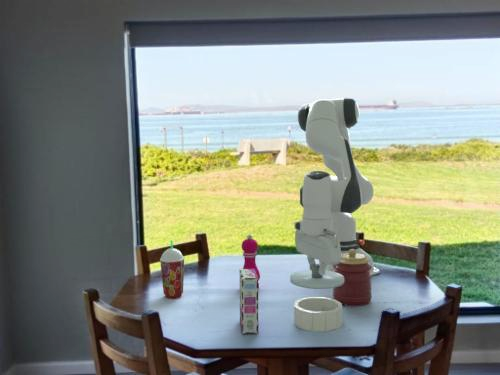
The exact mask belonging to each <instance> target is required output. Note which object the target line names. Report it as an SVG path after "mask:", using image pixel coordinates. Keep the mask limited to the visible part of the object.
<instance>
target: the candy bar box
mask: <svg viewBox="0 0 500 375" xmlns="http://www.w3.org/2000/svg"><path fill="white" fill-rule="evenodd" d="M238 272H239V323H240V329H241V334H242V335H256V334H257V335H259V289H258V283H259V281H258V277H257V274H256V272H255V269H243V268H240V269H239V271H238Z"/></svg>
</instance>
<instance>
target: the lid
mask: <svg viewBox="0 0 500 375" xmlns="http://www.w3.org/2000/svg"><path fill="white" fill-rule="evenodd" d="M319 267H320V264H319V263H316V264H312V271H311V270H310V269H306V270H305V269H303V270H300V271H296V272H293V273H291V274H290V276H289V278H290V279H289V282H290V283H291V284H292V285H294V286H296V287H300V288H304V289H312V290H326V289H327V290H328V289H333V288H335V287H339V286H341V285H343V284H344V276H343V275H341V274H339V273H337V272H333V271H327V270H325V275H320V274H318V268H319Z"/></svg>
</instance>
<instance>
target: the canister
mask: <svg viewBox="0 0 500 375" xmlns="http://www.w3.org/2000/svg"><path fill="white" fill-rule="evenodd" d="M368 262H369V259H368V258H367V257H365V256H364V255H362V254H358V253H356V251H355V250H354V249H350V250H349V251H348V253H344V254H341V262H340V263H339V264H334V265H333V268H334V272H337V273H339V274H341V275H343V276H344V284H343V285H341V286H339V287H335V288H332V299H335V300H337V301H339V302H341V304H342V306H343V305H344V306H351V307H352V306H353V307H356V306H357V307H358V306H359V305H360V306H364V305H368V304H370V303H371V300H372V298H373V297H372V276H373V275H371V274H370V270H371V269H372V266H371V265H370V264H369V263H368Z"/></svg>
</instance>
